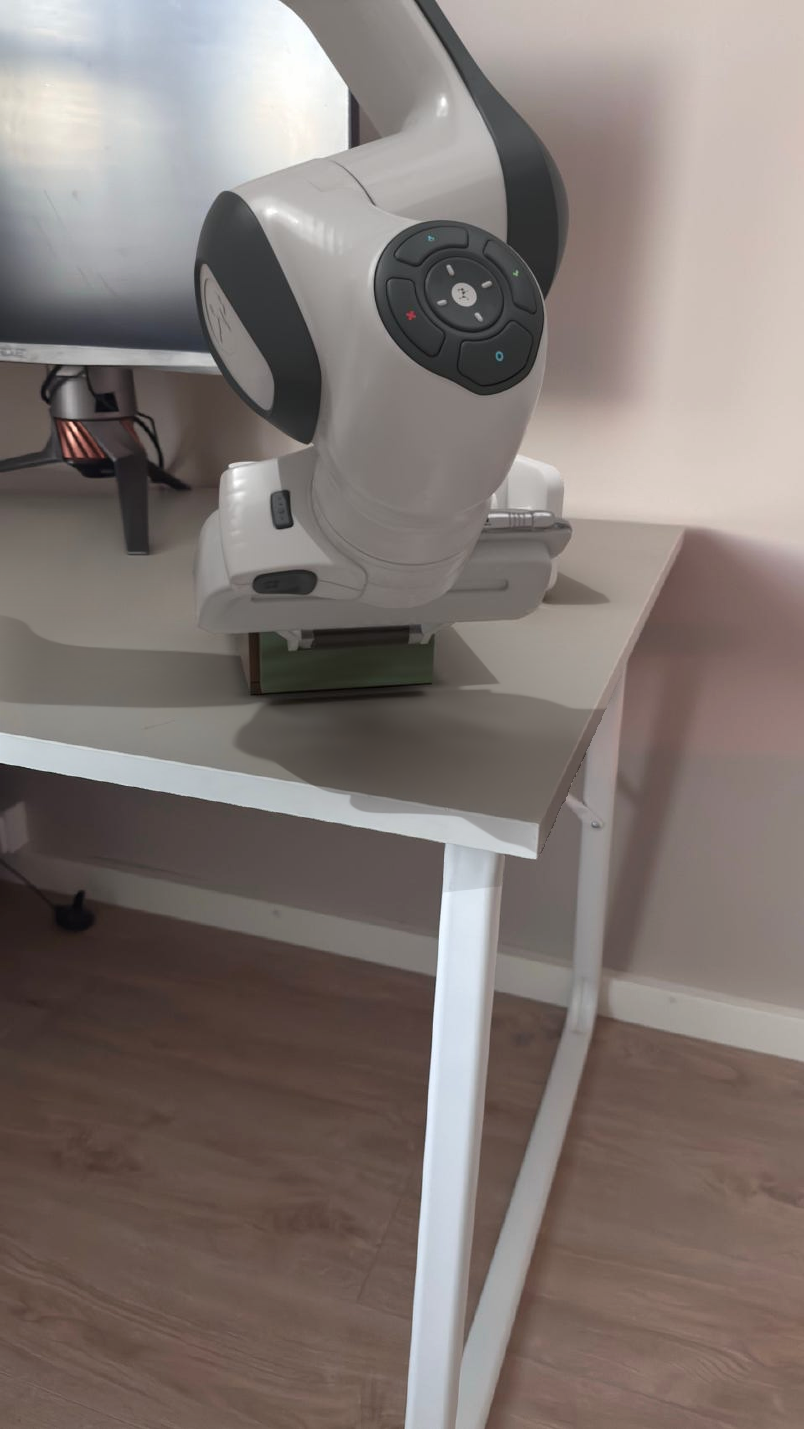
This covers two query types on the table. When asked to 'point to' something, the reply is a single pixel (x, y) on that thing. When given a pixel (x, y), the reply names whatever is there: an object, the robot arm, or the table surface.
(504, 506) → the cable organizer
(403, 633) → the drawer
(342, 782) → the table surface
